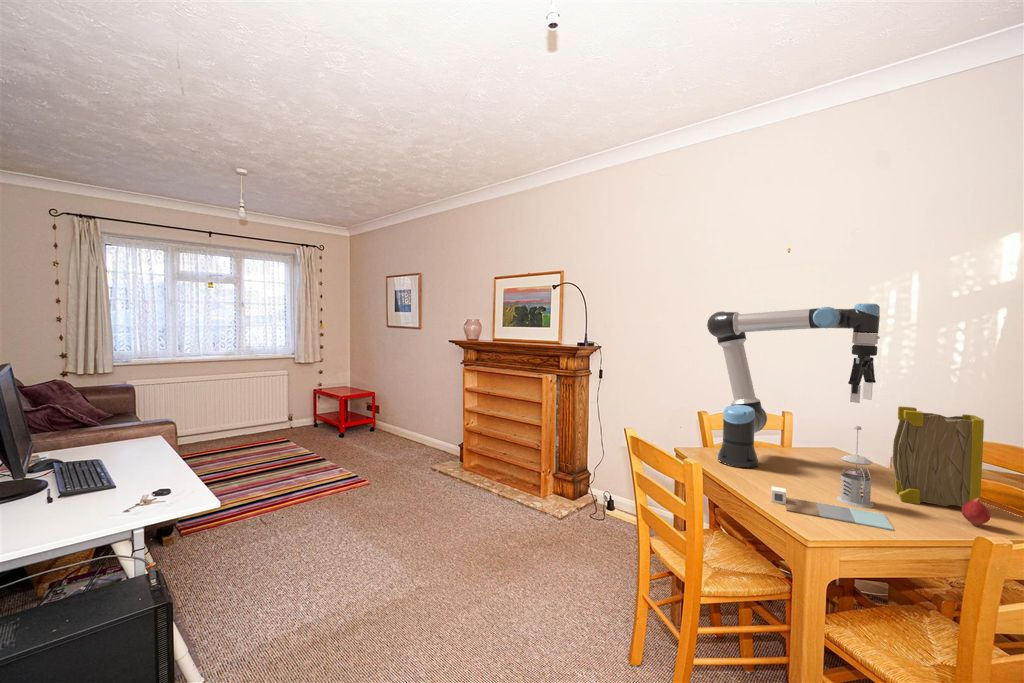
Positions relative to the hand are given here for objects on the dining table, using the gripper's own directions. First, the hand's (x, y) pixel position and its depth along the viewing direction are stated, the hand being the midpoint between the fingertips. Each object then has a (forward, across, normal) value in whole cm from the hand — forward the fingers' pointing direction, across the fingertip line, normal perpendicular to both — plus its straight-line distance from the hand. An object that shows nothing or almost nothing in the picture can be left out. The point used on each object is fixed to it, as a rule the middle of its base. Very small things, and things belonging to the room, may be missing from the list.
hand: (861, 401), depth 169 cm
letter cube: (+30, -50, +7) cm, 59 cm away
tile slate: (+29, -46, -8) cm, 55 cm away
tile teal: (+29, -43, -16) cm, 54 cm away
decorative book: (+29, -9, -23) cm, 38 cm away
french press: (+29, -30, -9) cm, 43 cm away
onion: (+29, -22, -35) cm, 50 cm away
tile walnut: (+30, -50, 0) cm, 58 cm away
